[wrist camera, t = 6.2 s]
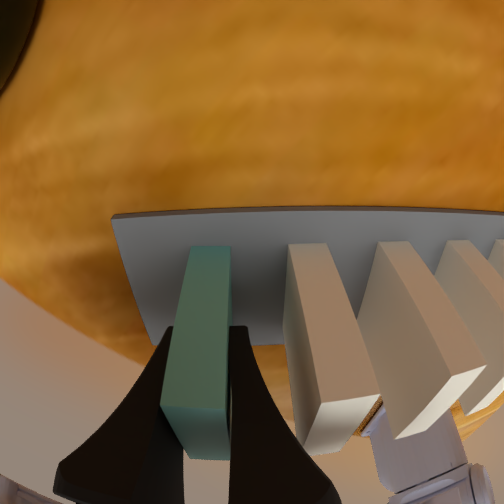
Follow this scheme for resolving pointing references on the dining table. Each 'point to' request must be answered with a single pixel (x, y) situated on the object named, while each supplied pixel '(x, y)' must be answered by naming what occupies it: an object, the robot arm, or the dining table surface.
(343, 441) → the domino
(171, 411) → the domino
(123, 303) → the dining table surface
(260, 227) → the mat
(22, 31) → the beer bottle
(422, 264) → the domino
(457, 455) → the robot arm
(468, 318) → the domino
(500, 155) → the dining table surface
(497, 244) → the domino
